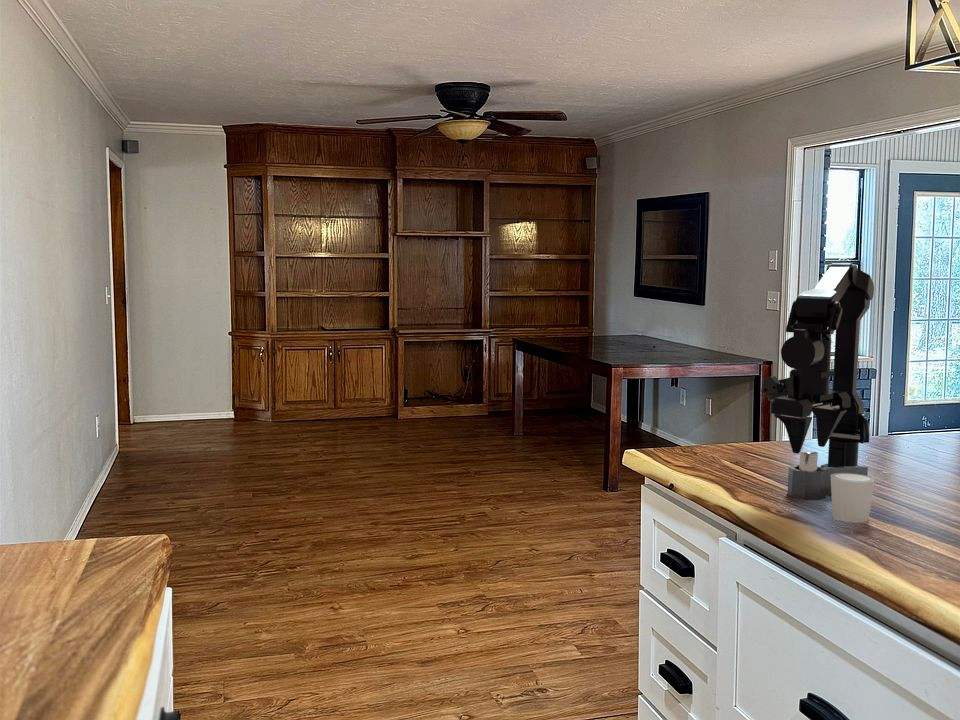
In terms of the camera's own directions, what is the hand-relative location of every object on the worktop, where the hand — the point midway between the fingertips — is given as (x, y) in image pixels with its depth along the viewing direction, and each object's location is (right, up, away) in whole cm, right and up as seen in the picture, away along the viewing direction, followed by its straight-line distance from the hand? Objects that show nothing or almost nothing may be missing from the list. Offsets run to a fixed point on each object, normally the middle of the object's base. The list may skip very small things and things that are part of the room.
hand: (808, 449), depth 159 cm
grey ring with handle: (+3, -8, +3) cm, 9 cm away
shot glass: (+2, -10, -13) cm, 17 cm away
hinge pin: (0, -8, +1) cm, 8 cm away
